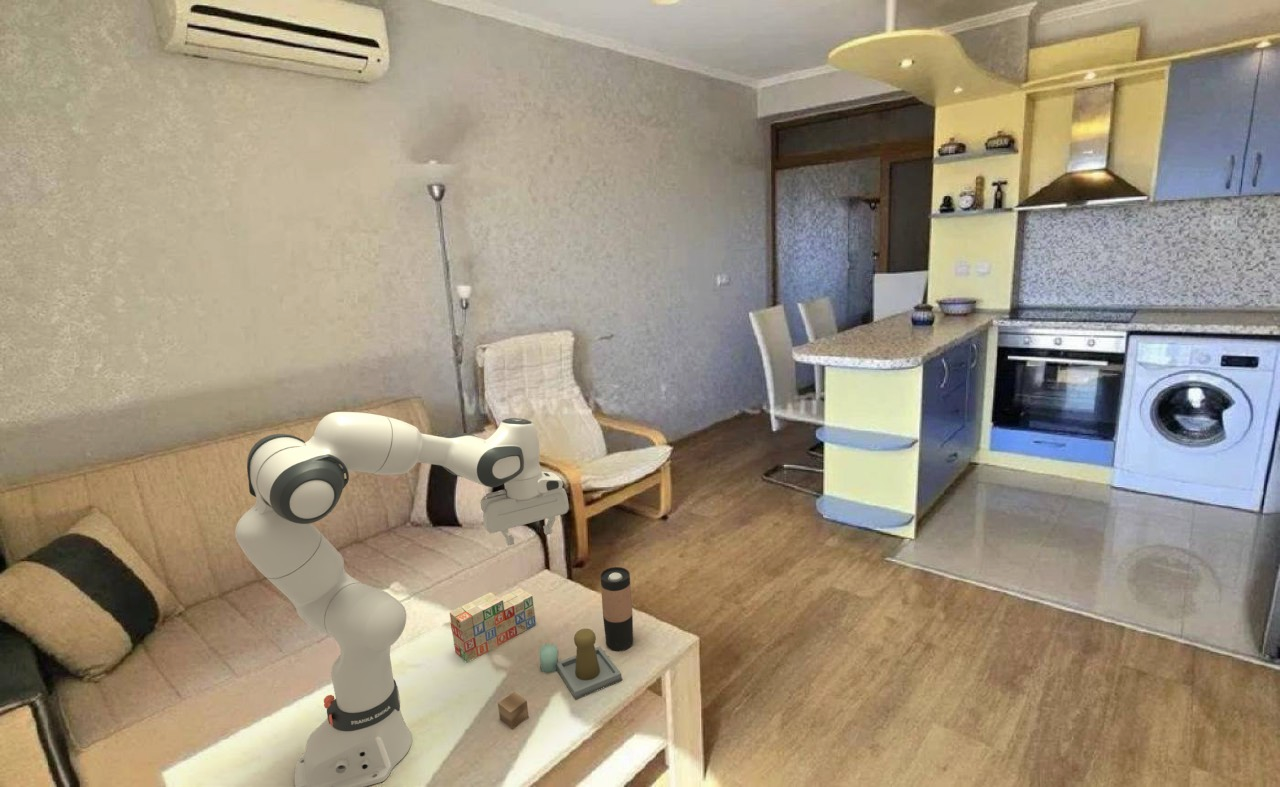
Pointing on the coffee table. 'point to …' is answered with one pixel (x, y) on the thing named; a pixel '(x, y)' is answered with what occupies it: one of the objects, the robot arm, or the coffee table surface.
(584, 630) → the olive brown pawn
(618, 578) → the travel mug
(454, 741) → the coffee table surface
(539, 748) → the coffee table surface
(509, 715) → the walnut cube
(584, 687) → the tray
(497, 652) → the coffee table surface
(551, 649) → the teal cylinder
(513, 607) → the stack of blocks
